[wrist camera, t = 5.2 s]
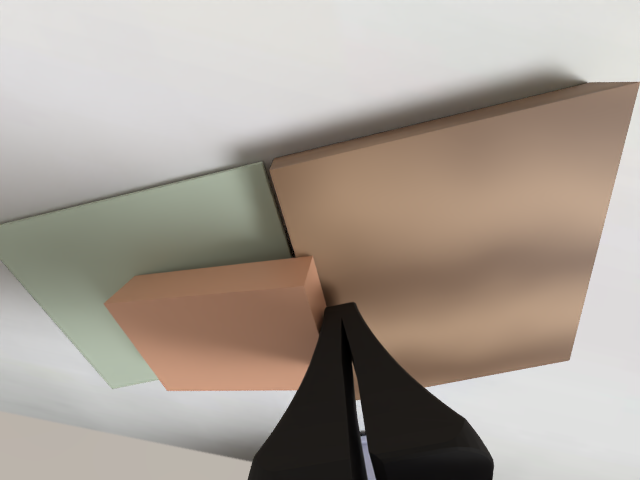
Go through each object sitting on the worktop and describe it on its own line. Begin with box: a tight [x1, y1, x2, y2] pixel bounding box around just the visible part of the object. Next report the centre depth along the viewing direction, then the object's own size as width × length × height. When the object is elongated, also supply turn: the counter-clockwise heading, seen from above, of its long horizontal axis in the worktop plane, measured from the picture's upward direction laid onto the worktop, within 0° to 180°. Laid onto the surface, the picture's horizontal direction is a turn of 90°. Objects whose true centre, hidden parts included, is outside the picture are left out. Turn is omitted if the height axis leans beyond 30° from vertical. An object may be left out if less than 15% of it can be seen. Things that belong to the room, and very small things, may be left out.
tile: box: [104, 256, 327, 391], centre depth 14 cm, size 6×9×2 cm, turn 103°
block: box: [269, 82, 640, 400], centre depth 14 cm, size 14×13×2 cm
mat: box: [0, 161, 293, 389], centre depth 15 cm, size 11×13×1 cm
